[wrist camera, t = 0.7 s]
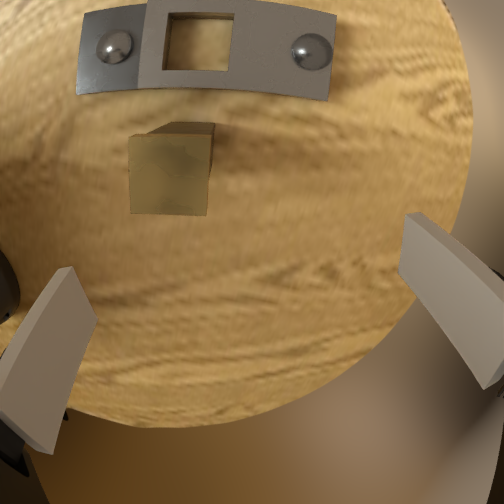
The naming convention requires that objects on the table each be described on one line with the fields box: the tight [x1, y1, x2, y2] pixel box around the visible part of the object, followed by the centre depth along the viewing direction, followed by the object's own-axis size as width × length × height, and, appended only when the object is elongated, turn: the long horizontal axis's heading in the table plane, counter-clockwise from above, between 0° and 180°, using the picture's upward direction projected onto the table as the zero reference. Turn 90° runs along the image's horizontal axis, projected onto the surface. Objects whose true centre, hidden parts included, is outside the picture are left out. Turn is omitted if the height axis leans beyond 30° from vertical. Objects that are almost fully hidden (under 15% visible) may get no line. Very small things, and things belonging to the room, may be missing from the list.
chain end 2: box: [138, 0, 337, 101], centre depth 22 cm, size 17×9×3 cm, turn 85°
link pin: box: [129, 122, 215, 216], centre depth 22 cm, size 5×5×13 cm
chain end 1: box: [76, 4, 234, 95], centre depth 21 cm, size 16×9×2 cm, turn 85°
